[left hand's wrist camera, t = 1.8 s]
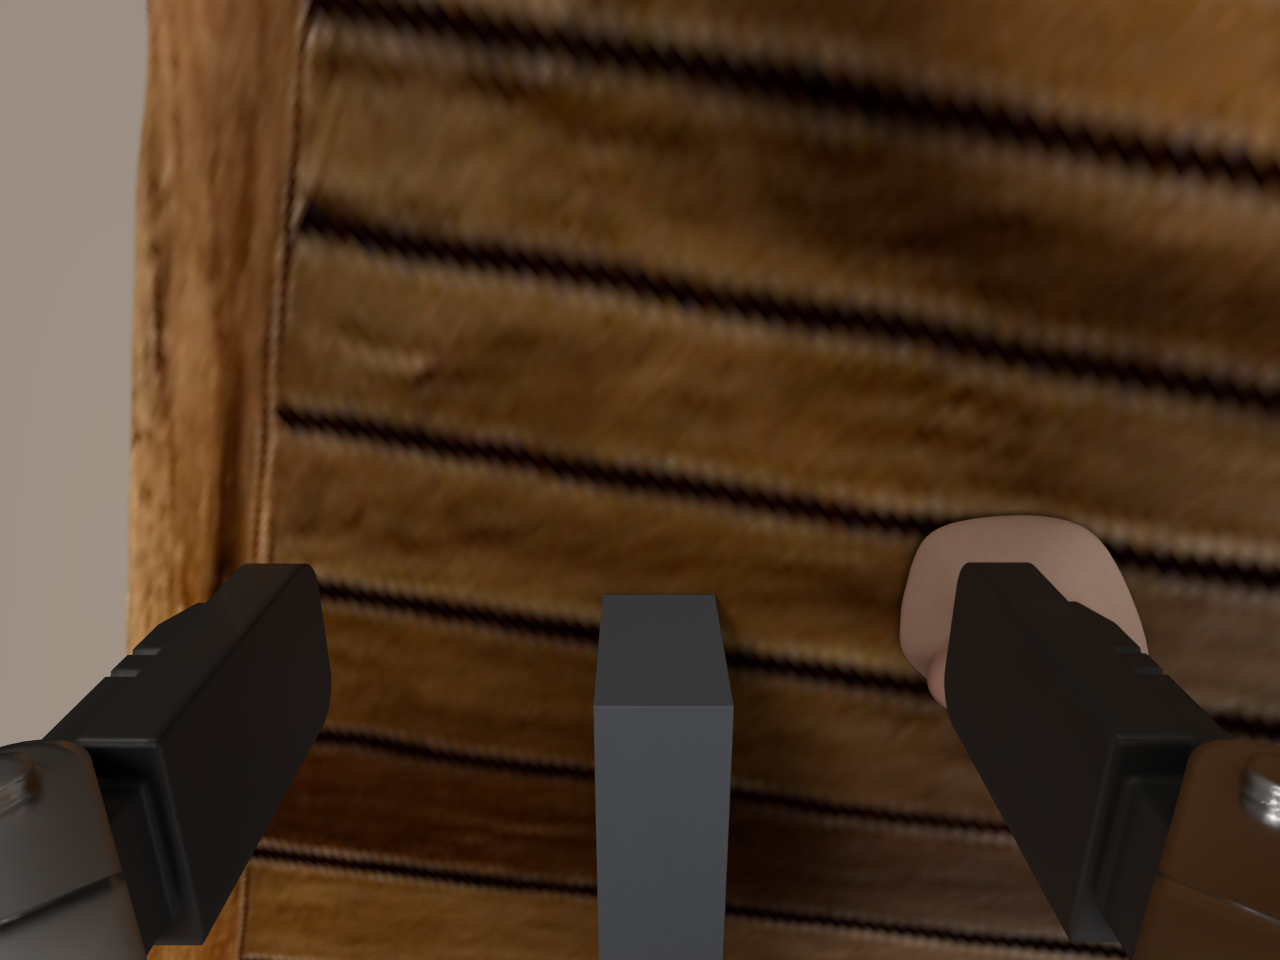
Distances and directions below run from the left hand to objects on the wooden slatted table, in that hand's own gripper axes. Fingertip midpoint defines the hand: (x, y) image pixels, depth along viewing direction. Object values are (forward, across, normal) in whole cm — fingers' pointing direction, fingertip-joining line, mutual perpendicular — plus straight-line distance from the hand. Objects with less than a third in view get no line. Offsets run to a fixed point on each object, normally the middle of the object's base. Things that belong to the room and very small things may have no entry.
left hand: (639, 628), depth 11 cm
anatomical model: (+29, +19, -16) cm, 38 cm away
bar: (+29, +1, -27) cm, 40 cm away
